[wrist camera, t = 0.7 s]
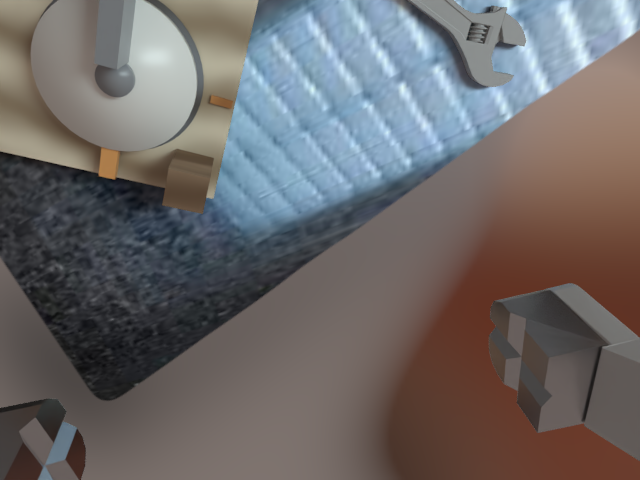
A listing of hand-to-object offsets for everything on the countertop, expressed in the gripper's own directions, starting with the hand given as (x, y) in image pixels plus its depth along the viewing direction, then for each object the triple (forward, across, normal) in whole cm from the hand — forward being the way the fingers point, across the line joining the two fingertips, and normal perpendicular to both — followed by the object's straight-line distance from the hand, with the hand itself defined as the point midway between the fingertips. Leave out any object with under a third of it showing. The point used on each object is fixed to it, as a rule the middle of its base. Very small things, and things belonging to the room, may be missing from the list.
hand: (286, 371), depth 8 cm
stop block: (+38, +8, +8) cm, 39 cm away
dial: (+38, +11, -2) cm, 39 cm away
